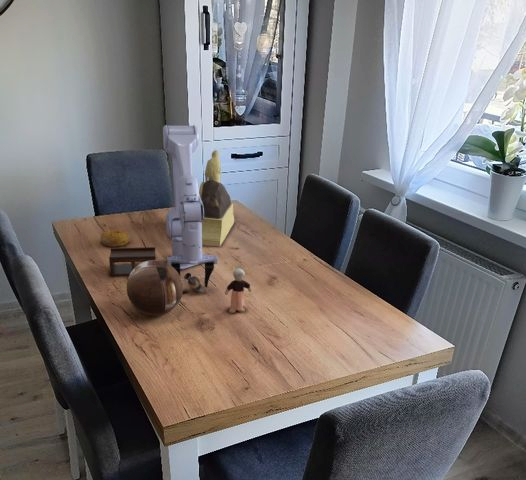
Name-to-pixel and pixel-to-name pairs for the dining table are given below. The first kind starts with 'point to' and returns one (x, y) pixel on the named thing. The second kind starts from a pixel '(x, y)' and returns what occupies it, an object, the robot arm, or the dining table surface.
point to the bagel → (115, 238)
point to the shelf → (129, 259)
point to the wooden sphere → (154, 287)
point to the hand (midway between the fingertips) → (193, 286)
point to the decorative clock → (215, 205)
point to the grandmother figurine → (237, 291)
